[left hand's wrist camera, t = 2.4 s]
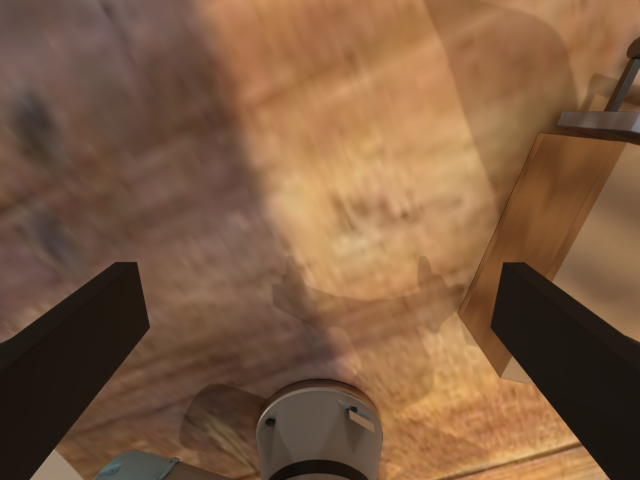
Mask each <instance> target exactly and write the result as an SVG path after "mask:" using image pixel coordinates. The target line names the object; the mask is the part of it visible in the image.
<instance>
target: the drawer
mask: <svg viewBox="0 0 640 480" xmlns="http://www.w3.org/2000/svg"><path fill="white" fill-rule="evenodd" d="M627 57H628V58H630V60H629V62H628V64H627V66H626V68H625V70H624V72H623V74H622V76H621V78H620V80H619V82H618V84H617V86H616V88H615V90H614V92H613V94H612V96H611V98H610V100H609V102H608V104H607V106H606V108H605V110H604V112H590V111H563V112H562V114H561V116H560V118H559V121H558V123H557V126H560V127H563V128H567V129H571V130H574V131H578V132H582V133H586V134H589V135H593V136H597V137H600V138H604V139H608V140H612V141H619V142H628V143H632V144H635V145H639V146H640V112H617V111H618V109H619V107H620V105H621V103H622V101H623V100H624V98H625V96H626V94H627V92H628V90H629V88H630V86H631V84H632V82H633V80H634V78H635V76H636V74H637V72H638V70H639V68H640V37H639V38H637V39H636V40H635V41H633V43H632V44H631V45H630V46H629V48H628V50H627Z"/></svg>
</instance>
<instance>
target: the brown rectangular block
mask: <svg viewBox="0 0 640 480" xmlns="http://www.w3.org/2000/svg"><path fill="white" fill-rule="evenodd" d="M503 262H525V263H526V264H528V265H529V266H530V267H532V268H533V269H535V270H536V271H537V272H539V273H540V274H541V275H543V276H544V277H546V278H547V279H548V280H550V281H551V282H552V283H554V284H555V285H556V286H558V287H559V288H561V289H562V290H563V291H565V292H566V293H567V294H569V295H570V296H572V297H573V298H574V299H576V300H577V301H578V302H580V303H581V304H582V305H584V306H585V307H587V308H588V309H589V310H591V311H592V312H593V313H595V314H596V315H598V316H599V317H600V318H602V319H603V320H604V321H606V322H607V323H608V324H610V325H611V326H613V327H614V328H615V329H617V330H618V331H619V332H621V333H622V334H624V335H626V336H628V337H630V338H632V339H635V340H637V341H639V342H640V146H639V145H635V144H632V143H628V142H619V141H610V140H601V139H591V138H582V137H573V136H564V135H555V134H545V133H539V134H538V136H537V138H536V141H535V143H534V145H533V147H532V150H531V152H530V154H529V156H528V159H527V161H526V163H525V165H524V168H523V170H522V172H521V174H520V176H519V179H518V181H517V183H516V185H515V188H514V190H513V192H512V194H511V197H510V199H509V201H508V203H507V206H506V208H505V210H504V212H503V214H502V217H501V219H500V221H499V223H498V226H497V228H496V230H495V232H494V235H493V237H492V239H491V241H490V244H489V246H488V248H487V250H486V252H485V255H484V257H483V259H482V261H481V264H480V266H479V268H478V270H477V273H476V275H475V277H474V279H473V282H472V284H471V286H470V288H469V290H468V293H467V295H466V297H465V299H464V302H463V304H462V306H461V308H460V311H459V313H458V315H459V317H460V318H461V320H462V321H463V323H464V324H465V326H466V327H467V329H468V330H469V332H470V333H471V335H472V336H473V338H474V339H475V341H476V342H477V344H478V345H479V347H480V348H481V350H482V351H483V353H484V354H485V356H486V357H487V359H488V360H489V362H490V364H491V365H492V367H493V368H494V370H495V371H496V373H497V374H498V376H499V377H500V378H501V379H506V380H511V381H516V382H521V383H526V384H530V385H535V384H534V383H533V381H532V380H531V379H530V377H529V376H528V375H527V374H526V372H525V371H524V370H523V369H522V367H521V366H520V365H519V364H518V362H517V361H516V360H515V359H514V357H513V356H512V355H511V353H510V352H509V351H508V350H507V348H506V347H505V346H504V345H503V343H502V342H501V341H500V340H499V338H498V337H497V336H496V334H495V333H494V332H493V331H492V329H491V328H490V325H491V320H492V315H493V310H494V305H495V300H496V295H497V290H498V285H499V280H500V275H501V270H502V265H503ZM535 386H536V385H535Z"/></svg>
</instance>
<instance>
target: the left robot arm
mask: <svg viewBox="0 0 640 480" xmlns="http://www.w3.org/2000/svg"><path fill="white" fill-rule="evenodd" d="M149 328H150V325H149V320H148V315H147V310H146V305H145V300H144V295H143V290H142V285H141V280H140V275H139V270H138V265H137V262H115V263H114V264H112V265H111V266H110V267H108V268H107V269H105V270H104V271H103V272H101V273H100V274H99V275H97V276H96V277H94V278H93V279H92V280H90V281H89V282H88V283H86V284H85V285H84V286H82V287H81V288H79V289H78V290H77V291H75V292H74V293H73V294H71V295H70V296H68V297H67V298H66V299H64V300H63V301H62V302H60V303H59V304H58V305H56V306H55V307H53V308H52V309H51V310H49V311H48V312H47V313H45V314H44V315H42V316H41V317H40V318H38V319H37V320H36V321H34V322H33V323H32V324H30V325H29V326H27V327H26V328H25V329H23V330H22V331H21V332H19V333H18V334H16V335H15V336H14V337H12V338H11V339H9V340H7V341H5V342H3V343H0V480H30V479H31V477H32V476H33V475H34V473H35V472H36V471H37V470H38V468H39V467H40V466H41V465H42V463H43V462H44V461H45V460H46V458H47V457H48V456H49V455H50V453H51V452H52V451H53V449H54V448H55V447H56V446H57V444H58V443H59V442H60V441H61V439H62V438H63V437H64V436H65V434H66V433H67V432H68V431H69V429H70V428H71V427H72V425H73V424H74V423H75V422H76V420H77V419H78V418H79V417H80V415H81V414H82V413H83V412H84V410H85V409H86V408H87V407H88V405H89V404H90V403H91V401H92V400H93V399H94V398H95V396H96V395H97V394H98V393H99V391H100V390H101V389H102V388H103V386H104V385H105V384H106V383H107V381H108V380H109V379H110V377H111V376H112V375H113V374H114V372H115V371H116V370H117V369H118V367H119V366H120V365H121V364H122V362H123V361H124V360H125V359H126V357H127V356H128V355H129V353H130V352H131V351H132V350H133V348H134V347H135V346H136V345H137V343H138V342H139V341H140V340H141V338H142V337H143V336H144V334H145V333H146V332H147V331H148V329H149ZM490 328H491V329H492V331H493V332H494V333H495V334H496V336H497V337H498V338H499V340H500V341H501V342H502V343H503V345H504V346H505V347H506V348H507V350H508V351H509V352H510V353H511V355H512V356H513V357H514V359H515V360H516V361H517V362H518V364H519V365H520V366H521V367H522V369H523V370H524V371H525V372H526V374H527V375H528V376H529V377H530V379H531V380H532V381H533V383H534V384H535V385H536V386H537V388H538V389H539V390H540V391H541V393H542V394H543V395H544V396H545V398H546V399H547V400H548V401H549V403H550V404H551V405H552V407H553V408H554V409H555V410H556V412H557V413H558V414H559V415H560V417H561V418H562V419H563V420H564V422H565V423H566V424H567V425H568V427H569V428H570V429H571V431H572V432H573V433H574V434H575V436H576V437H577V438H578V439H579V441H580V442H581V443H582V444H583V446H584V447H585V448H586V449H587V451H588V452H589V453H590V455H591V456H592V457H593V458H594V460H595V461H596V462H597V463H598V465H599V466H600V467H601V468H602V470H603V471H604V472H605V473H606V475H607V476H608V477H609V479H610V480H640V342H639V341H637V340H635V339H632V338H630V337H628V336H626V335H624V334H622V333H621V332H619V331H618V330H617V329H615V328H614V327H613V326H611V325H610V324H608V323H607V322H606V321H604V320H603V319H602V318H600V317H599V316H598V315H596V314H595V313H593V312H592V311H591V310H589V309H588V308H587V307H585V306H584V305H582V304H581V303H580V302H578V301H577V300H576V299H574V298H573V297H572V296H570V295H569V294H567V293H566V292H565V291H563V290H562V289H561V288H559V287H558V286H556V285H555V284H554V283H552V282H551V281H550V280H548V279H547V278H546V277H544V276H543V275H541V274H540V273H539V272H537V271H536V270H535V269H533V268H532V267H530V266H529V265H528V264H526V263H525V262H503V265H502V270H501V275H500V280H499V285H498V290H497V295H496V300H495V305H494V310H493V315H492V320H491V325H490ZM382 441H383V434H382V427H381V422H380V417H379V414H378V411H377V409H376V407H375V406H374V404H373V403H372V402H371V401H370V399H369V398H368V397H367V396H365V395H364V394H363V393H362V392H360V391H359V390H357V389H355V388H353V387H351V386H349V385H346V384H343V383H340V382H336V381H330V380H308V381H302V382H298V383H294V384H292V385H289V386H287V387H285V388H283V389H281V390H279V391H278V392H277V393H275V394H274V395H273V396H272V397H271V398H270V399H269V400H268V401H267V402H266V403H265V405H264V406H263V408H262V410H261V412H260V415H259V420H258V424H257V429H256V445H257V452H258V458H259V465H260V471H261V478H262V480H376V478H377V472H378V466H379V460H380V454H381V448H382ZM93 480H234V479H231V478H228V477H225V476H222V475H219V474H216V473H213V472H210V471H207V470H204V469H201V468H198V467H195V466H192V465H189V464H186V463H183V462H180V461H179V458H176V457H174V458H172V459H170V458H166V457H162V456H159V455H155V454H151V453H147V452H143V451H139V450H131V451H127V452H124V453H122V454H120V455H118V456H116V457H115V458H114V459H112V460H111V461H110V462H109V463H108V464H107V465H106V466H105V467H104V468H103V469H102V470H101V471H100V472H99V473H98V474H97V475H96V477H95V478H94V479H93Z"/></svg>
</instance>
